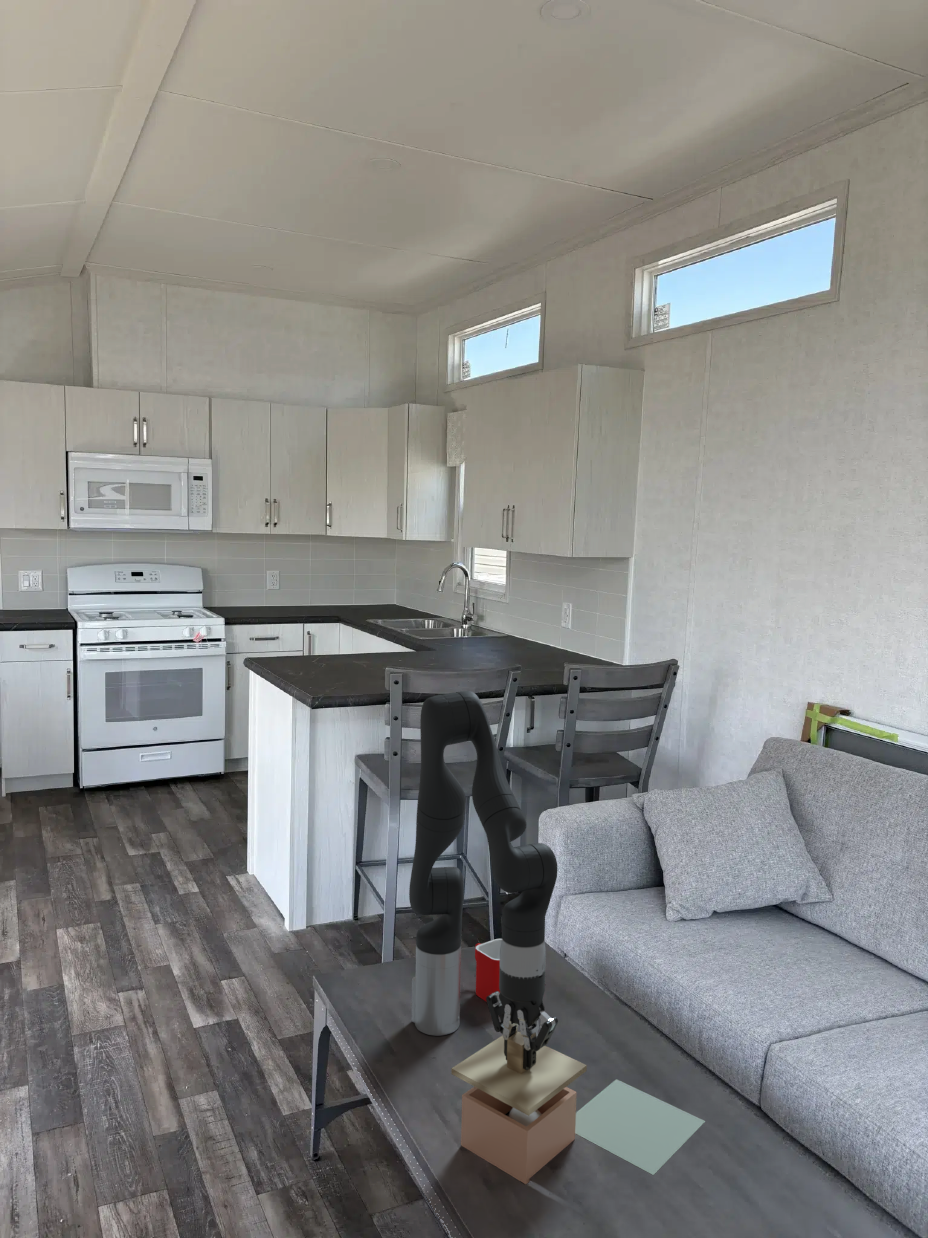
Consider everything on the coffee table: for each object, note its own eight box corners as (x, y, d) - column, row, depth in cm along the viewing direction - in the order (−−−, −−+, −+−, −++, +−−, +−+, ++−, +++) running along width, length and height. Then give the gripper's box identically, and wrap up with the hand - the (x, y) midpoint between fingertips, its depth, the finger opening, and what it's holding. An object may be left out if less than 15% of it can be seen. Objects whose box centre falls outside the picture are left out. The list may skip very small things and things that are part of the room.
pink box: (461, 1145, 156) (462, 1095, 155) (511, 1107, 167) (512, 1060, 166) (526, 1184, 147) (527, 1131, 146) (574, 1142, 158) (576, 1092, 157)
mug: (524, 997, 205) (525, 951, 203) (495, 1009, 200) (496, 961, 198) (489, 975, 214) (490, 931, 213) (461, 986, 209) (461, 940, 208)
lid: (451, 1074, 155) (452, 1040, 154) (511, 1035, 167) (512, 1003, 166) (528, 1116, 144) (529, 1079, 144) (586, 1071, 156) (587, 1037, 156)
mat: (560, 1129, 161) (560, 1125, 161) (616, 1082, 175) (616, 1079, 174) (653, 1178, 149) (653, 1175, 149) (705, 1124, 163) (705, 1121, 163)
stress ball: (548, 1167, 156) (568, 1130, 157) (516, 1156, 152) (537, 1118, 153) (522, 1139, 163) (542, 1104, 164) (491, 1127, 159) (511, 1091, 160)
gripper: (475, 958, 155) (473, 1056, 157) (543, 987, 146) (540, 1091, 148) (503, 943, 161) (501, 1038, 163) (571, 970, 152) (567, 1071, 154)
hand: (519, 1063), depth 155 cm, fingers closed on lid, 3 cm apart
